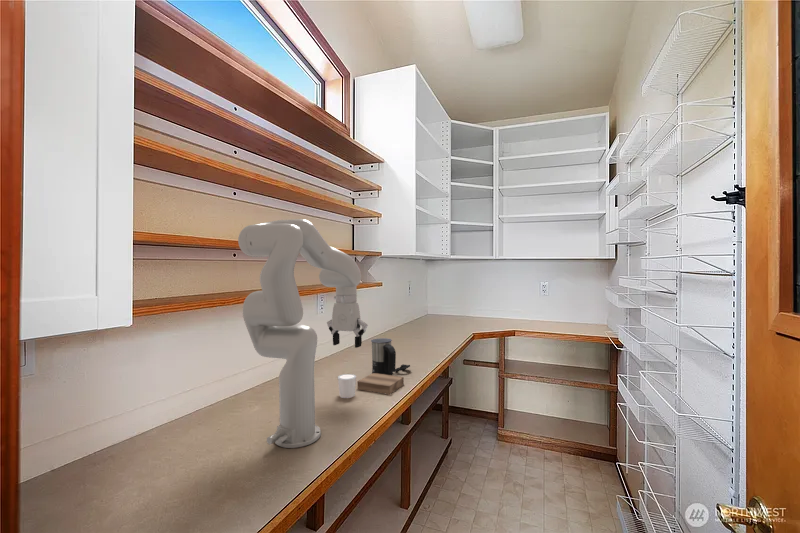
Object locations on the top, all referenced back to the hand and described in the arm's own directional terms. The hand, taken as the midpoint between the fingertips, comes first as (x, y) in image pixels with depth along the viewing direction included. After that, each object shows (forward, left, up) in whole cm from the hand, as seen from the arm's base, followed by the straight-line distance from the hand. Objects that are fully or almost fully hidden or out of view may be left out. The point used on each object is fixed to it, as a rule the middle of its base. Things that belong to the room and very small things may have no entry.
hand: (347, 345), depth 134 cm
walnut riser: (+13, -7, -18) cm, 23 cm away
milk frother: (+31, -2, -19) cm, 36 cm away
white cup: (0, 0, -18) cm, 19 cm away
